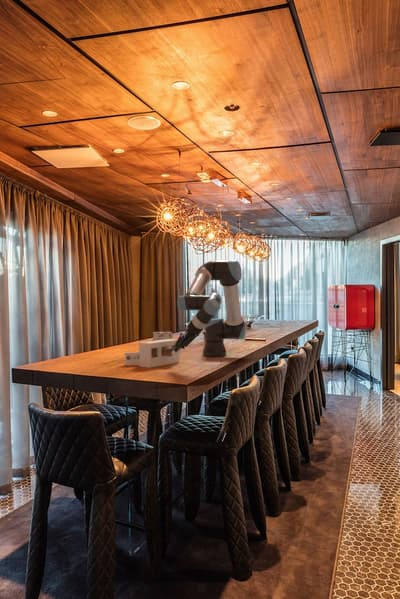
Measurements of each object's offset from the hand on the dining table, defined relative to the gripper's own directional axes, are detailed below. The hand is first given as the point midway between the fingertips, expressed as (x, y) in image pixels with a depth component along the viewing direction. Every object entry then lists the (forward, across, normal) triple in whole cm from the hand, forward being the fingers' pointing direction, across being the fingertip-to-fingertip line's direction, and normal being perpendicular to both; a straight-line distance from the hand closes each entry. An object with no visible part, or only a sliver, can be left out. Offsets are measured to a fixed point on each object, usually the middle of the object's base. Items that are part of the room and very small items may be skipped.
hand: (173, 354), depth 242 cm
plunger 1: (+15, 0, +12) cm, 19 cm away
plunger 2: (+15, +16, +12) cm, 25 cm away
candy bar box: (+27, +23, +16) cm, 39 cm away
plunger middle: (+11, +8, +7) cm, 15 cm away
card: (+25, -3, +14) cm, 29 cm away
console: (+18, +8, +7) cm, 21 cm away
